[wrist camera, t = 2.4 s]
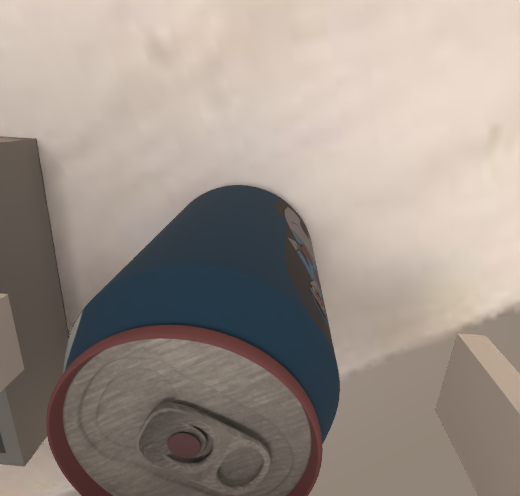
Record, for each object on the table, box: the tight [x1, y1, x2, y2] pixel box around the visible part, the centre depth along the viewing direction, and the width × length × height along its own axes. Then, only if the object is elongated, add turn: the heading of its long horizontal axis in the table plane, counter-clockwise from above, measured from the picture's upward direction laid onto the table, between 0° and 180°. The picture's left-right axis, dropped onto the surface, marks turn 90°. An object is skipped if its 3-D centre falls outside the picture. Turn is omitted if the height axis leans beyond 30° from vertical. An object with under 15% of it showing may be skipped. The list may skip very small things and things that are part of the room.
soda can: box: [46, 185, 340, 496], centre depth 13 cm, size 7×7×12 cm
